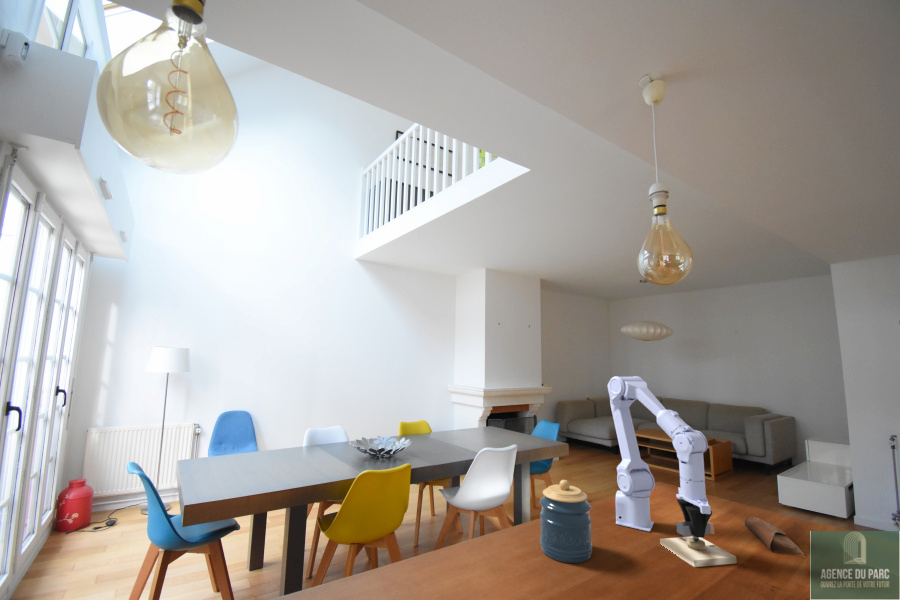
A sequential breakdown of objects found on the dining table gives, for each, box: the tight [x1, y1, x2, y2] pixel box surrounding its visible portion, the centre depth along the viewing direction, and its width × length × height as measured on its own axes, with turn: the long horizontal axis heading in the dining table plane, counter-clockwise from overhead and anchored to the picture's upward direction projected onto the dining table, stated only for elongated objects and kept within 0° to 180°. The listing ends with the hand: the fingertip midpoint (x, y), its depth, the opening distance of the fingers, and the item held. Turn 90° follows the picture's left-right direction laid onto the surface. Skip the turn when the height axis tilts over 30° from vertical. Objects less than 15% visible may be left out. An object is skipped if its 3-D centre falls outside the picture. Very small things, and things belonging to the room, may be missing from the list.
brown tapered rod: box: [744, 515, 805, 556], centre depth 115 cm, size 18×7×7 cm
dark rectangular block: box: [676, 520, 716, 541], centre depth 107 cm, size 2×9×4 cm, turn 102°
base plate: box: [659, 535, 738, 568], centre depth 106 cm, size 12×12×3 cm
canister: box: [539, 479, 593, 564], centre depth 107 cm, size 13×13×18 cm
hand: (695, 533), depth 107 cm, fingers closed on dark rectangular block, 3 cm apart
